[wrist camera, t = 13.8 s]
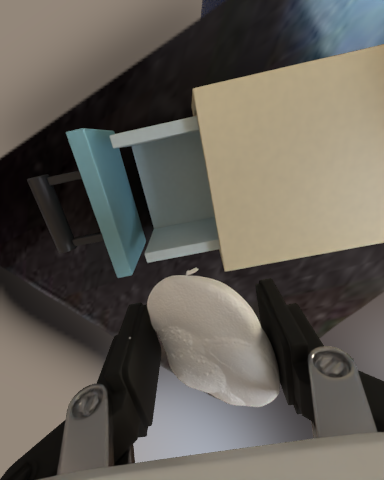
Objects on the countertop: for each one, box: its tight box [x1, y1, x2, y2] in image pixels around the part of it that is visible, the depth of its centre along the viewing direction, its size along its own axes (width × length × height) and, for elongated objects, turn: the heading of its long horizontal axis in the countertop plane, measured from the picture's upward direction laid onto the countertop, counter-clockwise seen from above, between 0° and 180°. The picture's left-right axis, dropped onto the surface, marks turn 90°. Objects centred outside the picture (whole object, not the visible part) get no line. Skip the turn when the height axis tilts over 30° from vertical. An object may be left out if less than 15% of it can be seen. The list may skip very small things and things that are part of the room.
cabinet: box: [191, 44, 384, 271], centre depth 20 cm, size 14×12×9 cm
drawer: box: [27, 116, 220, 278], centre depth 20 cm, size 18×10×7 cm, turn 102°
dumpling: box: [129, 268, 280, 407], centre depth 11 cm, size 7×5×4 cm
